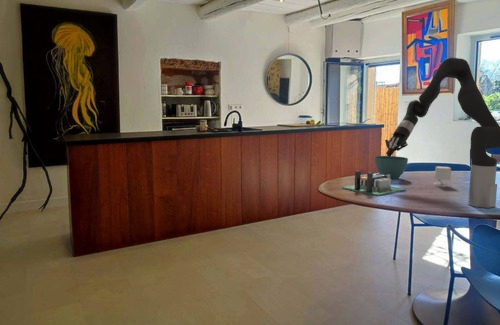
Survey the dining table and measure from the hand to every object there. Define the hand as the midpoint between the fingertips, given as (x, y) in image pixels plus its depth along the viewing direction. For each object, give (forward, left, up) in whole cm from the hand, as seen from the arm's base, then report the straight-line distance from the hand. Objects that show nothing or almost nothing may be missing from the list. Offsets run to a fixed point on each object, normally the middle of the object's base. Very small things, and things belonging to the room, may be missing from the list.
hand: (388, 155), depth 203 cm
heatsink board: (0, +10, -17) cm, 19 cm away
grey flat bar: (0, +4, -11) cm, 11 cm away
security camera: (-14, -27, -17) cm, 35 cm away
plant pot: (+16, -25, -17) cm, 34 cm away
